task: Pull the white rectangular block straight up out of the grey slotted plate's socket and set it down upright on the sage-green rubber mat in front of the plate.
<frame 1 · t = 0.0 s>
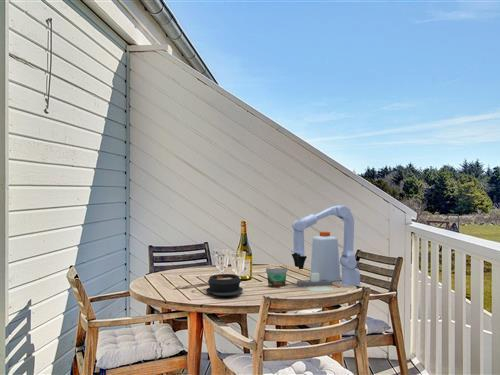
hand: (299, 267, 211), 10 cm above the table, tool pointing down, fingers open, 7 cm apart
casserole: (224, 293, 197), on the table
white rectangular block: (314, 284, 213), touching grey slotted plate
grey slotted plate: (314, 285, 213), on the table
rubber mat: (320, 289, 203), on the table
plastic bottle: (325, 280, 228), on the table
food container: (278, 287, 211), on the table
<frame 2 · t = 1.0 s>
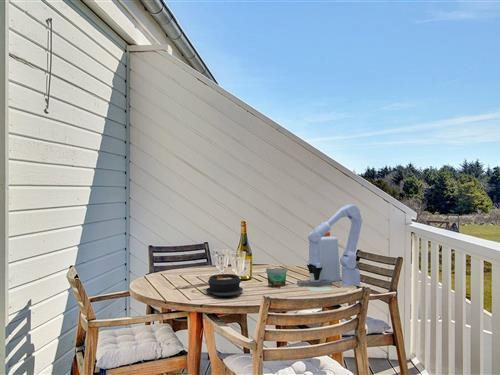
hand: (314, 278, 213), 4 cm above the table, tool pointing down, fingers open, 7 cm apart
nothing on the table moved.
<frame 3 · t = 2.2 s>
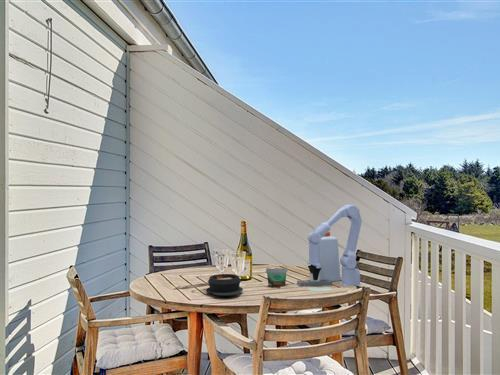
hand: (314, 279, 213), 3 cm above the table, tool pointing down, fingers closed on white rectangular block, 3 cm apart
white rectangular block: (314, 284, 213), touching gripper, grey slotted plate
everything else where it was.
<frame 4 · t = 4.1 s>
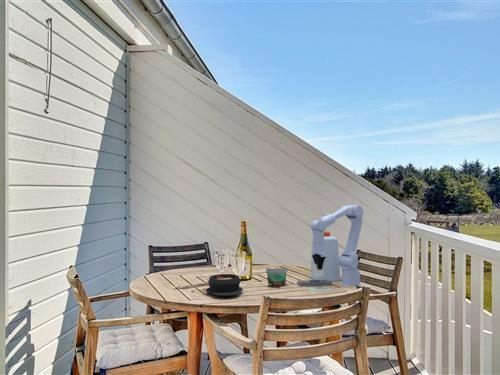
hand: (318, 268, 206), 10 cm above the table, tool pointing down, fingers closed on white rectangular block, 3 cm apart
white rectangular block: (318, 275, 206), point 7 cm above the table, touching gripper
everything else where it was.
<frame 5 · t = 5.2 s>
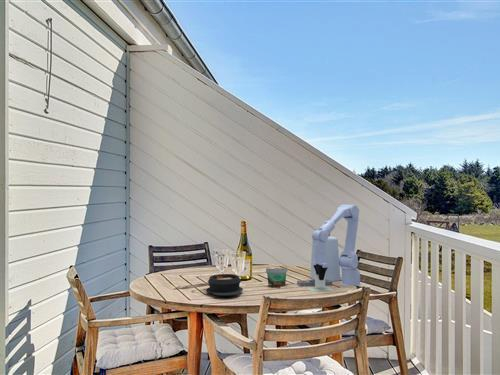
hand: (320, 279, 203), 5 cm above the table, tool pointing down, fingers closed on white rectangular block, 3 cm apart
white rectangular block: (320, 286, 203), point 2 cm above the table, touching gripper
everything else where it was.
when the fingers open (5 cm above the table, at t = 6.0 s): white rectangular block stays where it is, resting on rubber mat.
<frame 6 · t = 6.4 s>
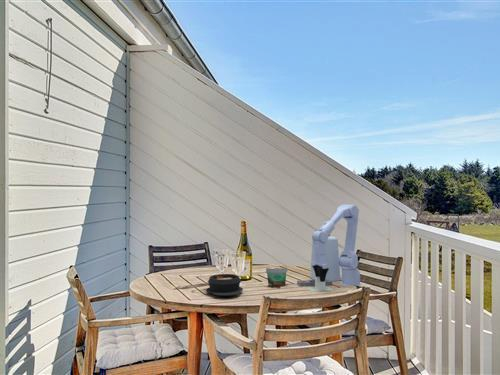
hand: (320, 280, 203), 5 cm above the table, tool pointing down, fingers open, 6 cm apart
white rectangular block: (320, 288, 203), resting on rubber mat
everything else where it was.
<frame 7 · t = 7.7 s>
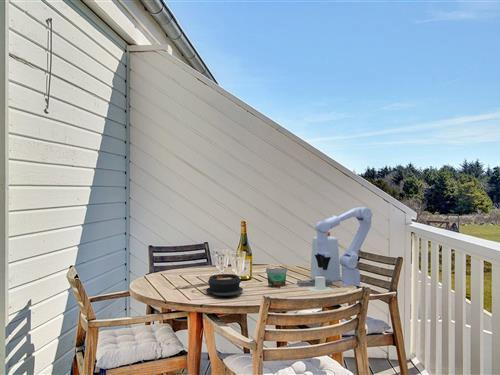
hand: (322, 268, 212), 9 cm above the table, tool pointing down, fingers open, 7 cm apart
nothing on the table moved.
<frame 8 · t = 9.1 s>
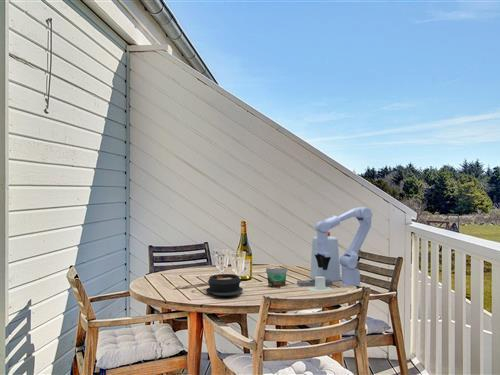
hand: (322, 268, 212), 9 cm above the table, tool pointing down, fingers open, 7 cm apart
nothing on the table moved.
at the end: white rectangular block inside the target area (0.2 cm from its centre), point 0.5 cm above the table; white rectangular block tilted 0°; the gripper is holding nothing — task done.
